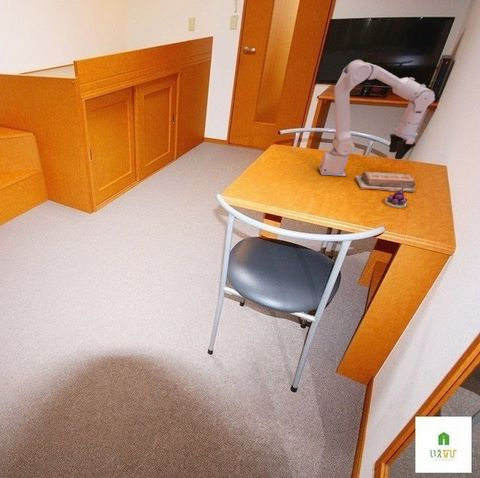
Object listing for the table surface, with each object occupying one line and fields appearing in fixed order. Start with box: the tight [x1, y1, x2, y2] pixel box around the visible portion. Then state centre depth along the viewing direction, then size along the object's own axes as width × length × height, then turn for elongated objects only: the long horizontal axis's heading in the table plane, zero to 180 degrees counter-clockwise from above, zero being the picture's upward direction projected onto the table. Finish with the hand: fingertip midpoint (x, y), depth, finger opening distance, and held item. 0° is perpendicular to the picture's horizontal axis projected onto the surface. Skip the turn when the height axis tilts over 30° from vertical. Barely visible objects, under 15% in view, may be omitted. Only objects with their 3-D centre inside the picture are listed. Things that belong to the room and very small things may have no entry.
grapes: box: [384, 187, 408, 209], centre depth 116 cm, size 6×6×7 cm
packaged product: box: [355, 171, 417, 193], centre depth 128 cm, size 18×5×10 cm
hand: (395, 155), depth 132 cm, fingers open, 7 cm apart
